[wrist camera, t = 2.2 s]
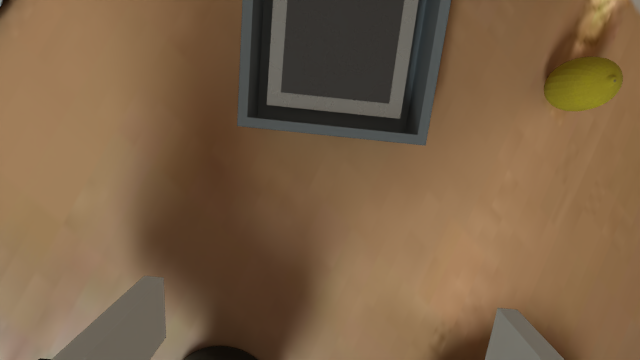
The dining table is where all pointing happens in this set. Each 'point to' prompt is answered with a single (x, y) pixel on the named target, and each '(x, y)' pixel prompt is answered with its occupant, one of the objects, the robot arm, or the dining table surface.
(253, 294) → the dining table surface
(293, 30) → the gray picture frame
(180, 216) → the dining table surface
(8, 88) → the dining table surface
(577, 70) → the lemon
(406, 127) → the gray open box
